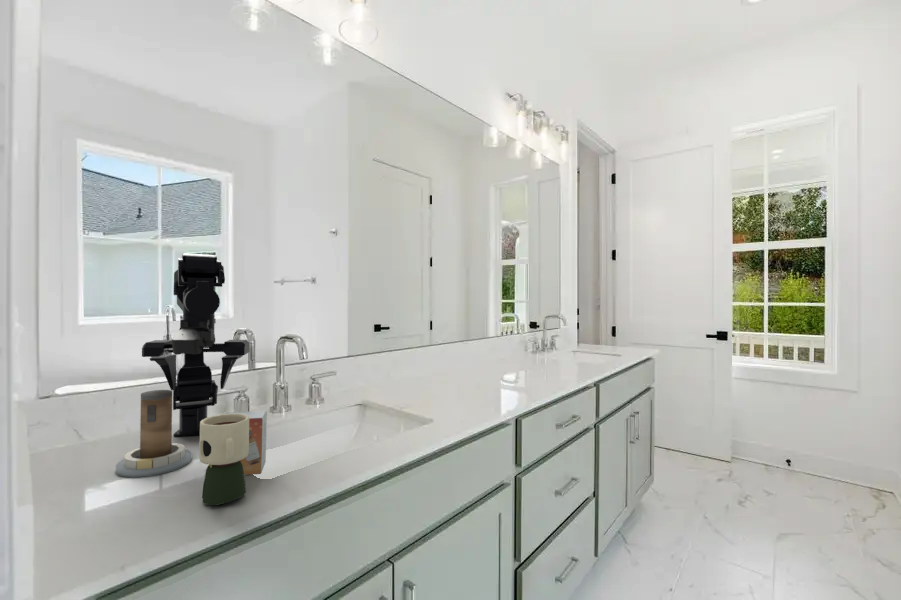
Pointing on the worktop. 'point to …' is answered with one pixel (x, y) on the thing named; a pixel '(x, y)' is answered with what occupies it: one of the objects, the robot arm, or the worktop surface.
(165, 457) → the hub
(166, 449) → the brown wooden canister
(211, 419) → the character mug
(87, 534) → the worktop surface
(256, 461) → the small box
